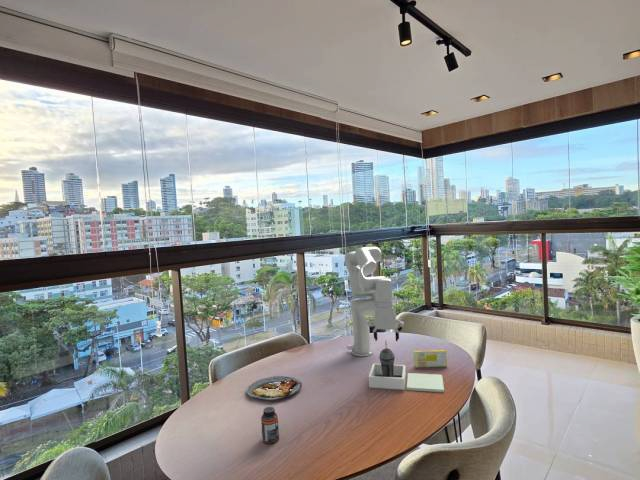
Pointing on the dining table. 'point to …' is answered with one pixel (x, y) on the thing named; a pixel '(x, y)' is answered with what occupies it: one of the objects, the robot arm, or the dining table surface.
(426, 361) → the candy box
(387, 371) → the beverage cup
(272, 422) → the supplement bottle
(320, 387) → the dining table surface
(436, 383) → the pad
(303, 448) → the dining table surface
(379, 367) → the bin
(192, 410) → the dining table surface
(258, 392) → the food plate
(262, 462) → the dining table surface
